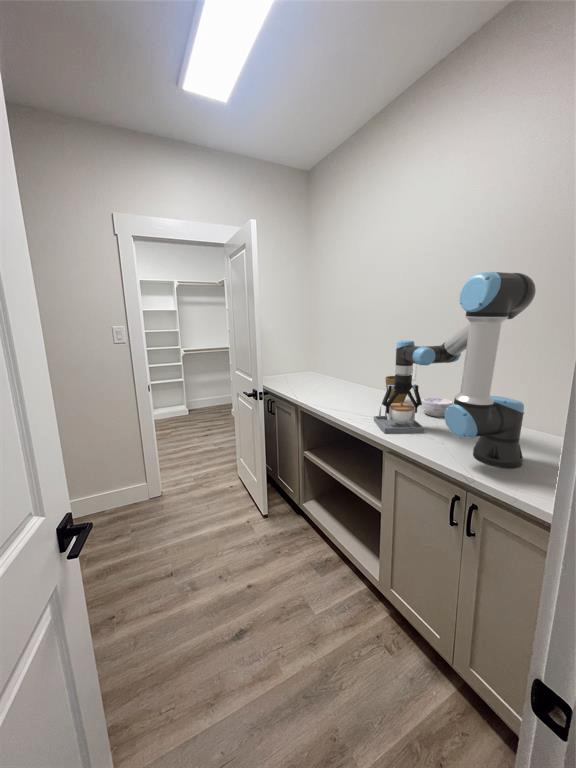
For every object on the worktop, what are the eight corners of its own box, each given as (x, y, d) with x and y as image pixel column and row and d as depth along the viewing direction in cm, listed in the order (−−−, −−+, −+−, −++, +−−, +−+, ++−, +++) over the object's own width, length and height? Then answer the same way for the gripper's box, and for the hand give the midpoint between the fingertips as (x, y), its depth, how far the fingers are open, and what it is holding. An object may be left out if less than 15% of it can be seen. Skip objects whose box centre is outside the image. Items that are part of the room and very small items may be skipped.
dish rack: (424, 432, 140) (425, 414, 138) (384, 433, 140) (385, 414, 138) (408, 420, 158) (409, 403, 156) (373, 420, 158) (374, 403, 156)
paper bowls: (440, 409, 175) (441, 396, 173) (458, 418, 160) (459, 403, 158) (415, 411, 173) (416, 397, 171) (430, 419, 158) (431, 404, 156)
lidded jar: (414, 425, 141) (416, 406, 139) (390, 424, 143) (391, 405, 141) (410, 418, 151) (411, 400, 149) (387, 417, 153) (388, 399, 152)
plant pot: (403, 408, 179) (405, 381, 175) (379, 403, 189) (381, 378, 185) (413, 403, 189) (415, 377, 186) (390, 399, 199) (392, 374, 196)
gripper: (425, 372, 146) (421, 416, 151) (376, 373, 146) (374, 417, 151) (432, 375, 139) (428, 421, 143) (380, 375, 139) (378, 422, 143)
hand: (400, 419), depth 147 cm, fingers closed on lidded jar, 11 cm apart
